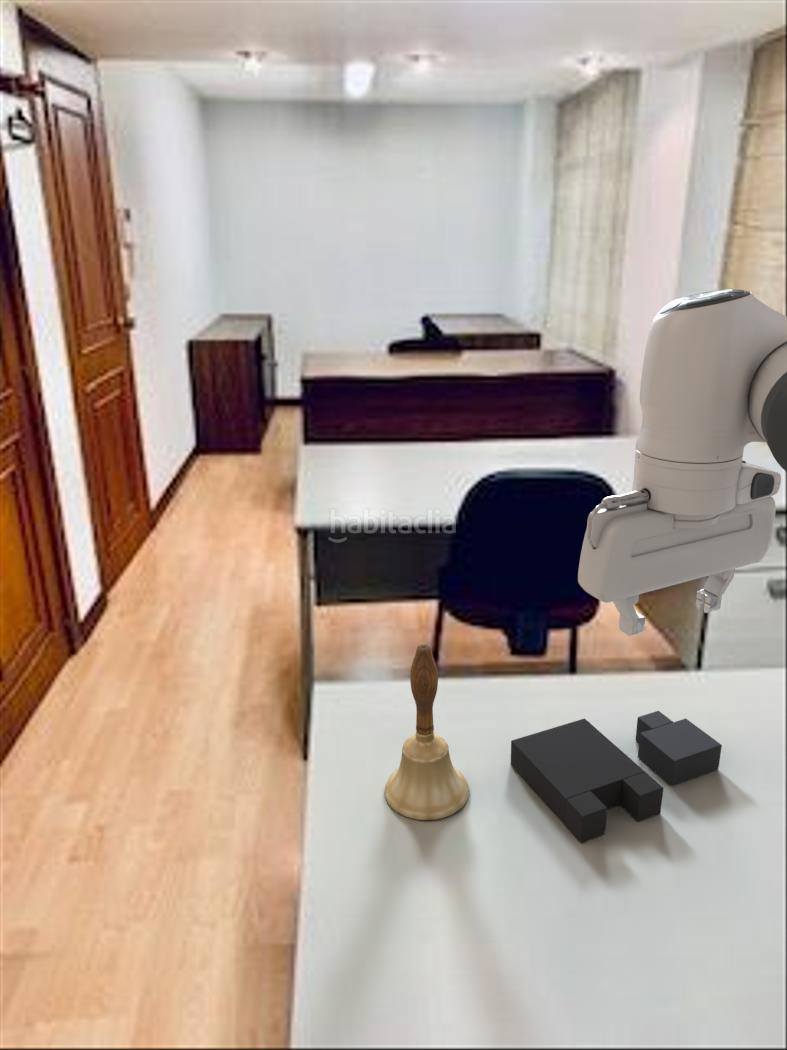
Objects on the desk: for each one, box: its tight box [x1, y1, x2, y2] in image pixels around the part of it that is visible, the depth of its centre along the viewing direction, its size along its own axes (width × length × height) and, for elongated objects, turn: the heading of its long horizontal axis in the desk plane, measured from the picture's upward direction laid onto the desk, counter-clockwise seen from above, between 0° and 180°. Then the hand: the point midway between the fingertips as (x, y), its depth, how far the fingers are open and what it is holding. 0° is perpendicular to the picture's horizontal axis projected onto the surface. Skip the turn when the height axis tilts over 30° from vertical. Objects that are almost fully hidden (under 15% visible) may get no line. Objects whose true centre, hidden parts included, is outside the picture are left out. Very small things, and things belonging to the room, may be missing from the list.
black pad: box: [510, 718, 664, 844], centre depth 74 cm, size 9×12×3 cm
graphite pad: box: [635, 710, 723, 787], centre depth 78 cm, size 6×7×3 cm
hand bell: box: [384, 643, 470, 821], centre depth 72 cm, size 8×8×16 cm
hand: (670, 620), depth 72 cm, fingers open, 8 cm apart
